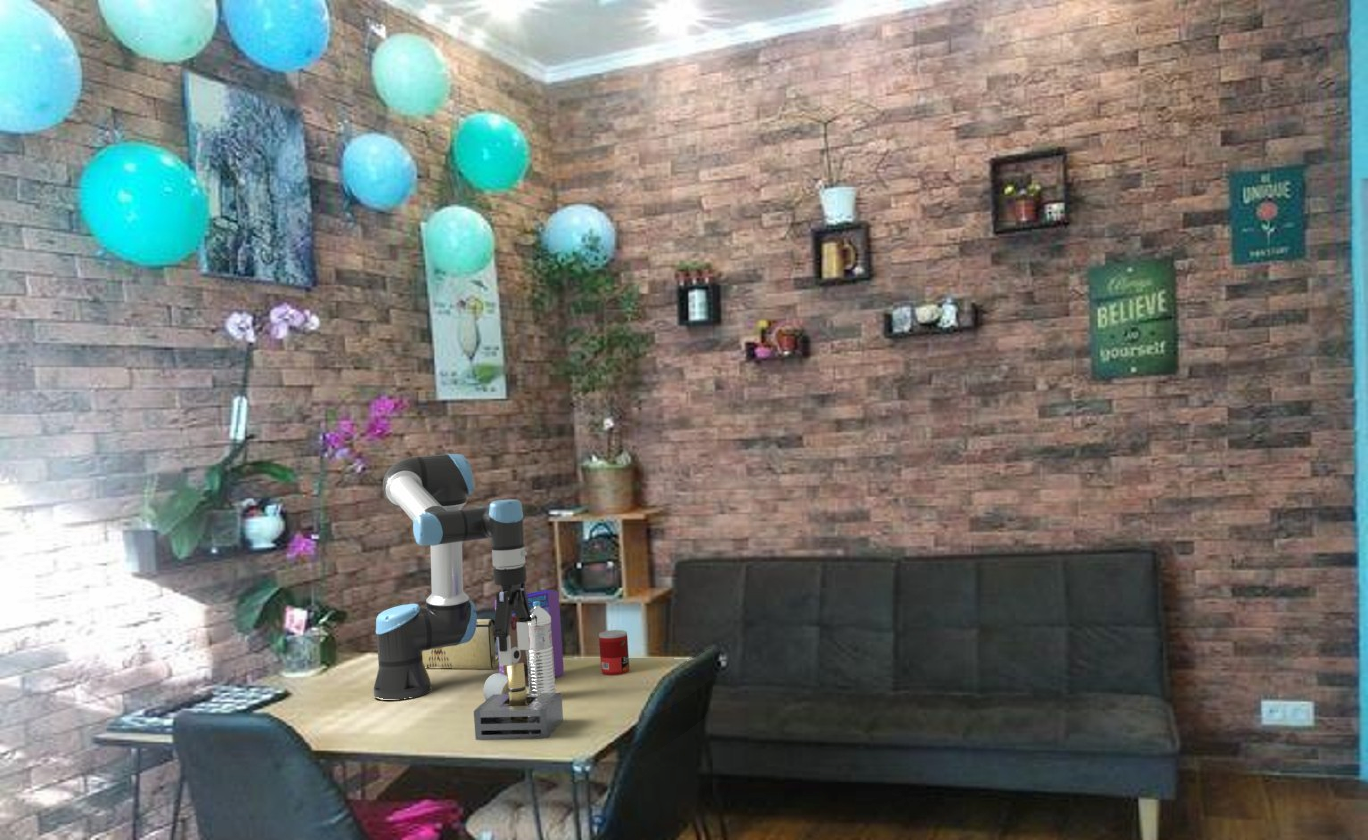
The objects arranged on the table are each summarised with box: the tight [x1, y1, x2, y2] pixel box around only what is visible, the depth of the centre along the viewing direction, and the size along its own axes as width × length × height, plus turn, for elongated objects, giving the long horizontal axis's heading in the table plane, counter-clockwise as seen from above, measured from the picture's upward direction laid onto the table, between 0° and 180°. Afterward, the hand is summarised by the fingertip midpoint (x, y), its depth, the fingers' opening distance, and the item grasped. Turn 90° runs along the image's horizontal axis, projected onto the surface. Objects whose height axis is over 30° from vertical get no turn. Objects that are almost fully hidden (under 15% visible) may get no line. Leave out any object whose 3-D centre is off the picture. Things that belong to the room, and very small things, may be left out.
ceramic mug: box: [482, 672, 528, 706], centre depth 248 cm, size 11×8×8 cm
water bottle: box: [526, 601, 557, 694], centre depth 251 cm, size 7×7×25 cm
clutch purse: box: [422, 618, 499, 671], centre depth 290 cm, size 30×7×15 cm, turn 73°
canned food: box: [598, 629, 630, 676], centre depth 272 cm, size 8×8×11 cm
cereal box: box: [494, 589, 565, 686], centre depth 268 cm, size 17×5×24 cm, turn 129°
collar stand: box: [473, 692, 564, 740], centre depth 225 cm, size 17×13×6 cm
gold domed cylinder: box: [506, 663, 528, 719], centre depth 226 cm, size 4×4×14 cm
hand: (515, 657), depth 226 cm, fingers open, 13 cm apart
